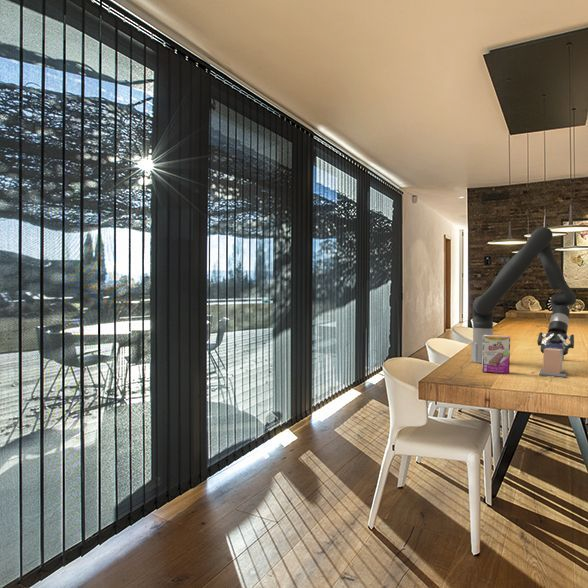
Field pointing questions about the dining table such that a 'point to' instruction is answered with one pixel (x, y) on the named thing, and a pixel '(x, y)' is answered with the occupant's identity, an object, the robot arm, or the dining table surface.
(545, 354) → the pinkish tan block
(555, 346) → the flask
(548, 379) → the dining table surface
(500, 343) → the candy bar box
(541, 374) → the rubber mat
